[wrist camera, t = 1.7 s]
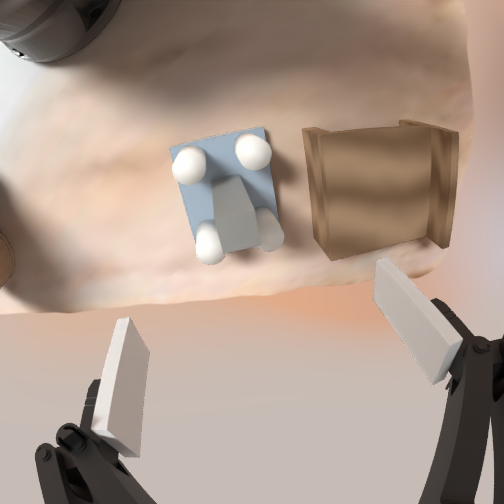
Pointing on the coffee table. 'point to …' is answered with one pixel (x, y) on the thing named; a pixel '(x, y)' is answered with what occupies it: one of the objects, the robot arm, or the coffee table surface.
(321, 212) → the wooden u channel
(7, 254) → the binoculars
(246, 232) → the pegged blue plate
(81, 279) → the coffee table surface
